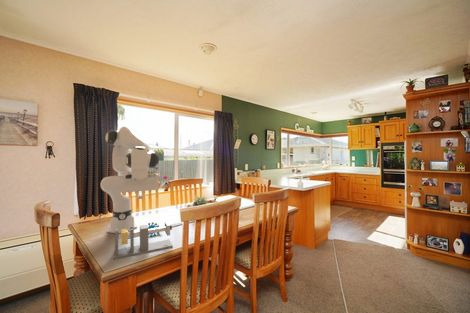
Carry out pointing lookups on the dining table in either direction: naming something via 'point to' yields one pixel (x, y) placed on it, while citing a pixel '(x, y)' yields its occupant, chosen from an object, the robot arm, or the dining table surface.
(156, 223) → the gear
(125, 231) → the spacer
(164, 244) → the bearing base
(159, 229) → the shaft
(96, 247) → the dining table surface
